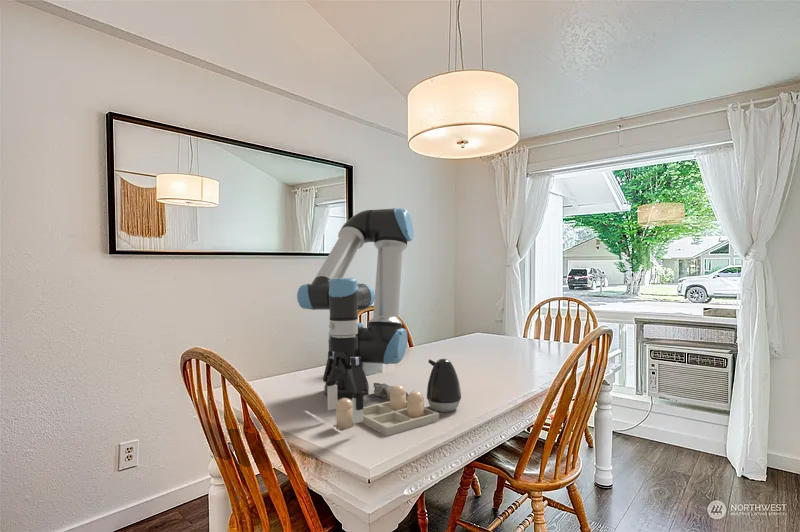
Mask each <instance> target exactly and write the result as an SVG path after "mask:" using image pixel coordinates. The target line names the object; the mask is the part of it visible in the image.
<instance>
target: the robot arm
mask: <svg viewBox="0 0 800 532" xmlns="http://www.w3.org/2000/svg"><path fill="white" fill-rule="evenodd" d="M337 235H338V236H337V237H338V239H337V241H336V242H335V244H334V246H333V247H332V249H331V251H330V252H329V254H328V256H327V258H325V261H324V262H323V264H322V265H321V267H320V269H319V271H318V272H317V274H316V276H314V277H315V278H314V279H313V281H312V282H311V283H305V284H304V283H303V284H302V285H300V286H299V288H298V290H297V293H296V299H297V303H298V305H299V307H301V308H302V309H303V310H312V311H315V310H319V311H320V310H323V311H324V310H325V311H326V310H329V324H328V328H329V331H328V340H327V341H328V351H327V359H326V364H325V369H324V374H323V377H322V381H323V382H324V383H325V384H324V387H323V389H324V391H323V392H324V393H325V394H324V393H323V394H324V395H325V396H327V411H333V410H336V405H337V403H338V399H342V398H348V399H351V401H352V422H353V423H354V424H357V423H361V422H362V421H363V407H364V397H365V396H368V395H369V392H370V391H369V389H370V387H369V386H370V385H369V382H368V378H367V375H365V372H364V369H363V362H364V363H381V364H383V365H397V364H399V363H400V362H401V361H402V360H403V359H404V356H405V354H406V352H407V351H406V350H407V348H408V347H407V346H408V340H409V339H408V330H407V329H405V328H403V323H402V321H401V320H400V319H399V314H400V311H399V310H400V299H401V298H400V297H401V280H402V264H403V263H402V262H403V251H404V250H406V249H407V248H408V242H411V241H413V238H414V226H413V220H412V217H411V215H410V213H409V211H408V210H407V209H406V208H397V207H396V208H395V207H393V208H381V209H366V210H363V211H360V212H357V213H356V214H355V215H353V216H352V217H351V218H349V219H348V220H347V221H346V222H345V223H344V224H343V225H342V227H341V228H340V230H339V231H338V234H337ZM366 243H367V244H368V243H374V246H375V248H376V249H377V259H376V260H377V262H376V275H375V277H376V278H375V287H374V288H375V289H373V288H372V286H370V285H368V284H366V283H358V280H357V279H356V278H355V277H344V276H345V274H346V272H347V270H348V268H349V266H350V265H351V263H352V261H353V260H354V257H355V255H356V253H357V252H358V250H359V249H361V248H363V246H364V244H366ZM372 305H373V313H372V317H371V319H370V320H368V322H367V327H364V324H363V323H362V322H359V321H358V318H359V317H358V313H359V312H358V311H364V310H366V309H368V308H370V307H371V306H372Z"/></svg>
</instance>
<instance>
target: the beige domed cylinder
mask: <svg viewBox="0 0 800 532" xmlns="http://www.w3.org/2000/svg"><path fill="white" fill-rule="evenodd" d="M406 392H407V391H406V389H405V388H404V386H402V385H400V384H395V385H393V386H392V388H391V390H390V409H391V410H394V411H397V410H401V409H405V408H406V401H407V400H406Z"/></svg>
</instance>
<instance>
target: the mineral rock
mask: <svg viewBox="0 0 800 532" xmlns="http://www.w3.org/2000/svg"><path fill="white" fill-rule="evenodd" d="M392 387H393V386H391V385H388V384H386V383H380V382H374V383H373V389H374V390H373V395H374V396H377V397H380V398H381V399H383V400H384V401H386V402H389V401H390V390H391V388H392ZM405 392H406V401H407V397H408V395H409V393H408V392H407V391H405Z"/></svg>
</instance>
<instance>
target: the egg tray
mask: <svg viewBox="0 0 800 532" xmlns="http://www.w3.org/2000/svg"><path fill="white" fill-rule="evenodd" d="M436 422H440V412H438V411H435V410H433V409H429V408H426V407H424V416H423V417H419V418H415V419H412V418H410V417H408V416H407V400H406V408H405V409H401V410H397V411H394V410H391V409H390V401H385V402H381V403H376V404H372V405H368V406H363V421H362V422H360V423H362V424H363V425H365V426H367V427H369V428H372V429H373V430H375V431H377V432H379V433H381V434H382V435H385V437H389V436H391V435H395V434H398V433H402V432H405V431H409V430H412V429H415V428H419V427H423V426H425V425H430V424H433V423H436Z"/></svg>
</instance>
